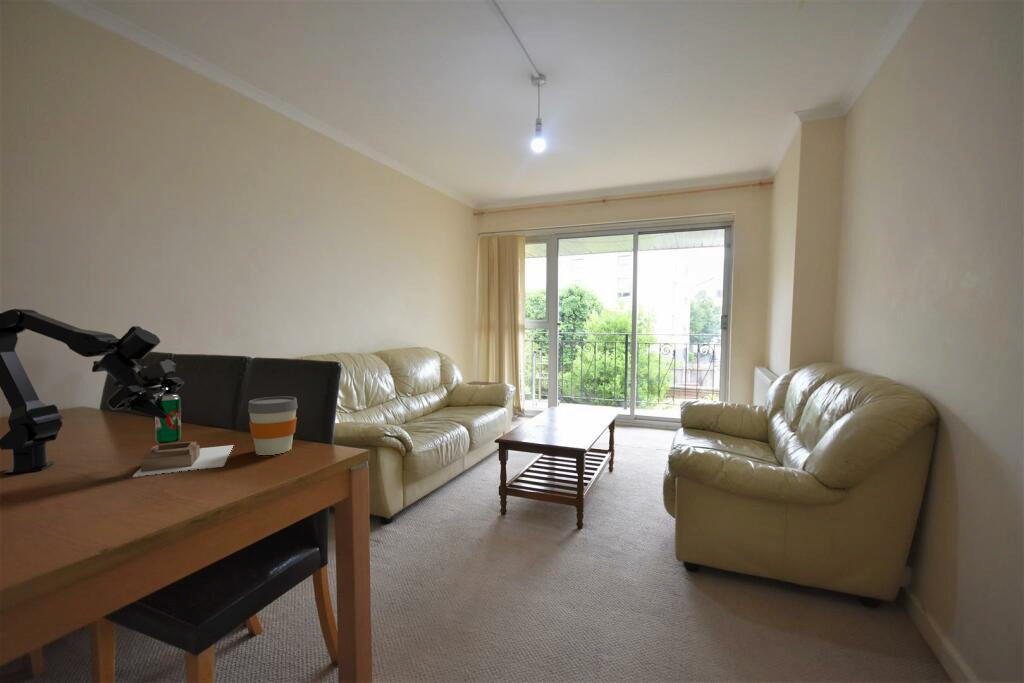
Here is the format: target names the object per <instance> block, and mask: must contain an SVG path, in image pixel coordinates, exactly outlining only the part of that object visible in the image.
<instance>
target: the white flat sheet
mask: <svg viewBox="0 0 1024 683" xmlns="http://www.w3.org/2000/svg"><path fill="white" fill-rule="evenodd" d="M233 446H234V447H235V445H234V444H230V445H220V446H211V447H201V448H200V456H199V457H198V458H197V460H196V461H195V462H194V464H193V465H192V466H189V467H181V468H172V469H163V470H155V471H146V472H145V471H144V472H141V467H140V468H139V469H138V470H137V471H136V472H135V473H134V474H133V475H132V478H139V476H140V477H146V476H145V475H149V476H154V475H155V474H157V475H163V474H162V473H165V474H172V473H171V472H174V473H179V471H180V473H181V471H182V472H188V470H190V471H196V470H197V469H199V470H206V468H207V469H213V468H222V467H224V466H225V464H226V462H227V460H228V459H229V457H230V455H231V453H232V451H233V449H234V448H233ZM232 448H233V449H232ZM231 450H232V451H231ZM230 452H231V453H230ZM229 454H230V455H229ZM228 456H229V457H228ZM227 458H228V459H227ZM197 471H198V470H197ZM155 476H156V475H155Z"/></svg>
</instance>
